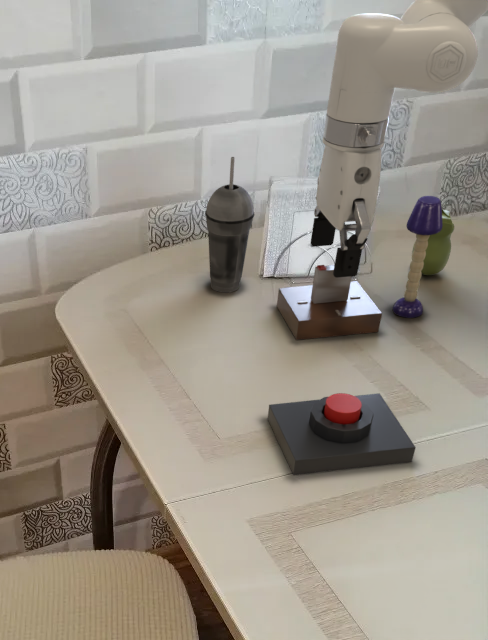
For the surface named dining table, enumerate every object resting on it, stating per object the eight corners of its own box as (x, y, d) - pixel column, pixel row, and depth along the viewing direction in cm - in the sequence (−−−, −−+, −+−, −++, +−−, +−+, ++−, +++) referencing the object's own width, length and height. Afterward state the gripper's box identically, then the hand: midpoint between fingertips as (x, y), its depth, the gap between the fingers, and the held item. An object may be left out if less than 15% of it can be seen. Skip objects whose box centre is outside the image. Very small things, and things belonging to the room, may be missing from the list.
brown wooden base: (353, 299, 121) (357, 279, 118) (378, 332, 113) (382, 312, 111) (276, 306, 120) (278, 287, 118) (296, 340, 112) (298, 320, 110)
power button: (352, 403, 94) (354, 391, 93) (364, 423, 91) (366, 411, 90) (319, 407, 94) (321, 394, 93) (330, 427, 91) (332, 414, 90)
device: (376, 407, 100) (382, 380, 97) (412, 462, 91) (419, 434, 89) (267, 418, 99) (270, 392, 96) (293, 475, 90) (297, 447, 88)
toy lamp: (412, 322, 115) (439, 208, 104) (382, 312, 117) (406, 200, 106) (427, 309, 117) (455, 197, 106) (398, 300, 120) (422, 189, 109)
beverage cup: (249, 276, 127) (260, 146, 114) (247, 297, 122) (258, 164, 109) (204, 274, 128) (209, 145, 115) (199, 295, 123) (205, 162, 110)
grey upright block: (344, 295, 115) (350, 261, 112) (347, 300, 114) (353, 266, 110) (310, 299, 115) (315, 264, 111) (313, 304, 114) (318, 269, 110)
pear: (443, 266, 127) (459, 205, 121) (445, 282, 124) (462, 219, 117) (407, 264, 128) (420, 203, 122) (408, 279, 125) (422, 216, 118)
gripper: (412, 151, 93) (382, 286, 104) (359, 108, 106) (338, 232, 117) (349, 155, 92) (326, 291, 104) (304, 111, 105) (288, 236, 116)
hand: (332, 260), depth 110 cm, fingers open, 9 cm apart
